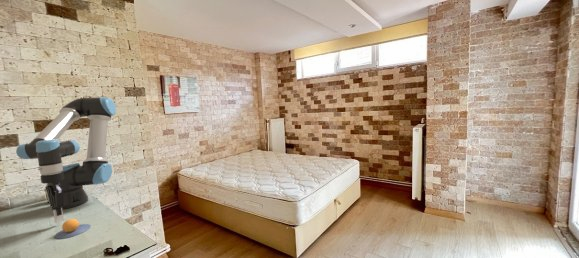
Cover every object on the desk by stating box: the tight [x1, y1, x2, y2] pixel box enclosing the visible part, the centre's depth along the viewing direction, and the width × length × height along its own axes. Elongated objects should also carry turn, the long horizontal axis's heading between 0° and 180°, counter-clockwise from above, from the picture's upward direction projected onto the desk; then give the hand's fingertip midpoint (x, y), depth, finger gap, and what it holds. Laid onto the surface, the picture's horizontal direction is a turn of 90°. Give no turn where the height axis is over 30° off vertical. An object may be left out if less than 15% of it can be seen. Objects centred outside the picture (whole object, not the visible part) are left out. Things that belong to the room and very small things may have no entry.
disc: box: [53, 223, 92, 240], centre depth 103 cm, size 12×12×1 cm
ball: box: [61, 218, 80, 232], centre depth 103 cm, size 6×6×6 cm
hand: (59, 221), depth 110 cm, fingers closed
